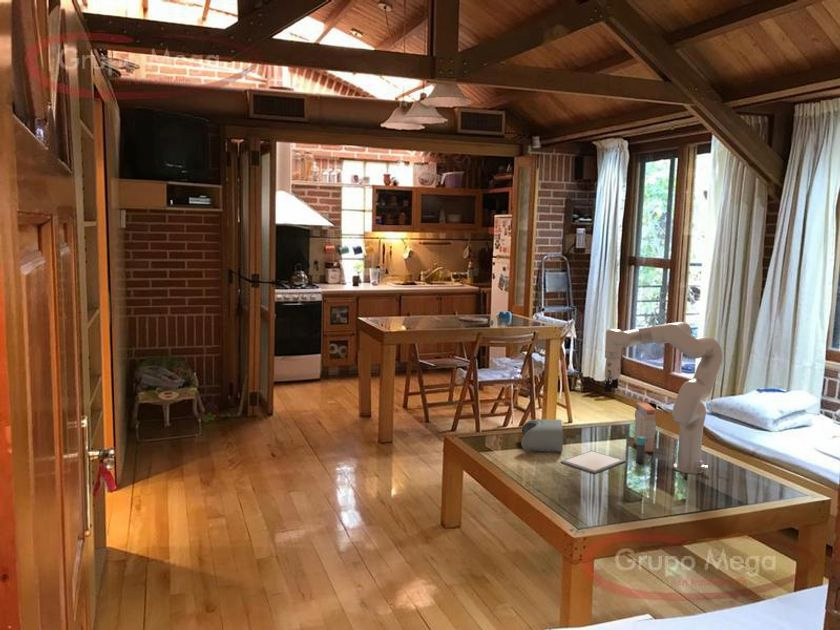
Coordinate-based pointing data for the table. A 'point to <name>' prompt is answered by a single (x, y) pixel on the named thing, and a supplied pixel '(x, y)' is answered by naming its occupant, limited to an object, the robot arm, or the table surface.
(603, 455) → the notepad
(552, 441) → the grey rounded block
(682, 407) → the robot arm
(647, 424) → the cracker box
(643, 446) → the marker
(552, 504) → the table surface
